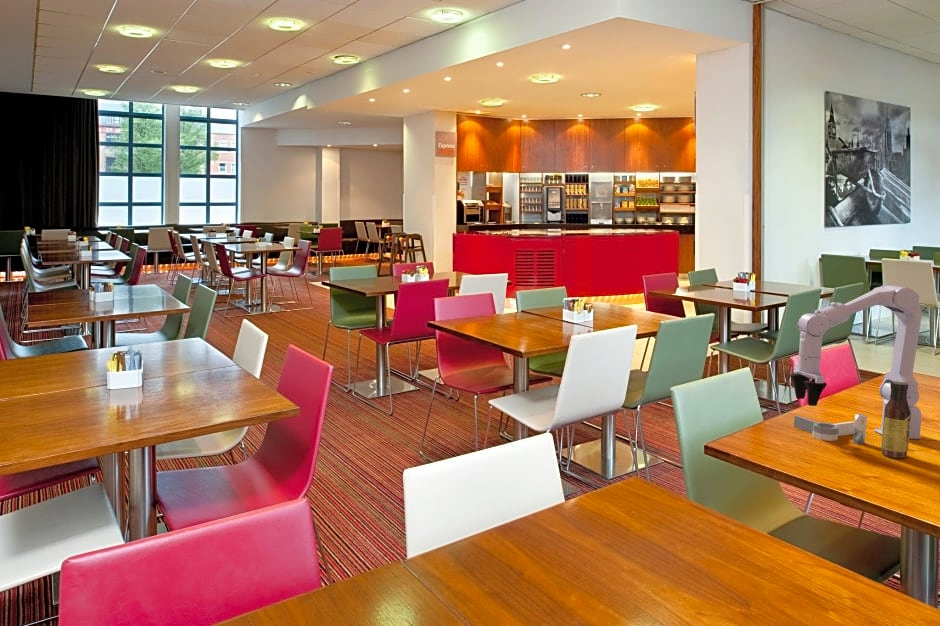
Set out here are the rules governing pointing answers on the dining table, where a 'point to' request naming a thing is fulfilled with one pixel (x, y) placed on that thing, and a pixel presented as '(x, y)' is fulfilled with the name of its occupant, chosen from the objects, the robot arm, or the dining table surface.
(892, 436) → the sauce bottle
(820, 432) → the hinge
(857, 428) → the hinge pin
